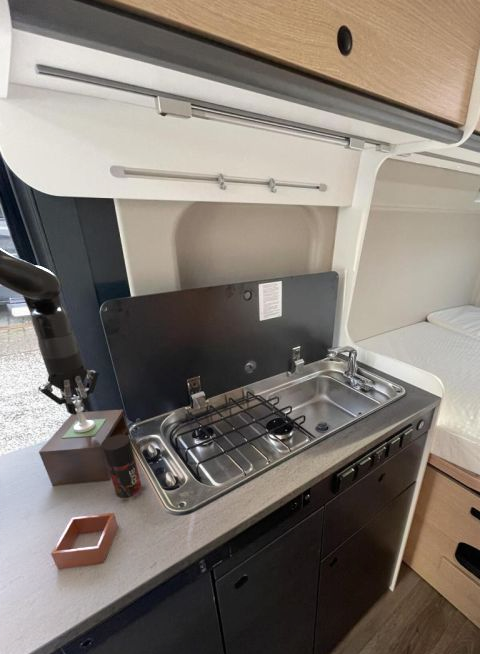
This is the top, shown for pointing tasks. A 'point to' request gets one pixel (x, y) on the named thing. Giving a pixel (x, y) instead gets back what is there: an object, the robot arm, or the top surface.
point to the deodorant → (122, 465)
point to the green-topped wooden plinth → (82, 448)
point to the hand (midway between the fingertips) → (79, 411)
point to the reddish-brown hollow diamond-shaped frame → (87, 555)
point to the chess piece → (81, 418)
